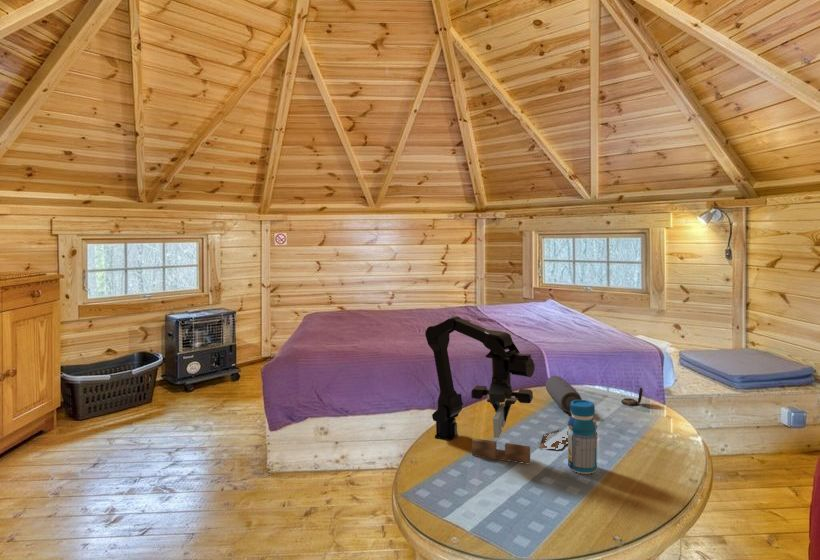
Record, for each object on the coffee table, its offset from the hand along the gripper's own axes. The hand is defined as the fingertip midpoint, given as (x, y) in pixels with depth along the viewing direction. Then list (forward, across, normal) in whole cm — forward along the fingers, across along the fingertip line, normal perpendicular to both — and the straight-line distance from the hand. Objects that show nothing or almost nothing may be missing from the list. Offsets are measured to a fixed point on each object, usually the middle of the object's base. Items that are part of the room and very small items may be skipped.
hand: (502, 420), depth 154 cm
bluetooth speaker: (+11, +14, +52) cm, 55 cm away
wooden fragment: (+12, +16, +18) cm, 27 cm away
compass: (+12, +40, +62) cm, 75 cm away
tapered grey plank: (+2, 0, -3) cm, 4 cm away
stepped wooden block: (+11, 0, -4) cm, 12 cm away
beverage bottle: (+11, +24, -3) cm, 27 cm away
